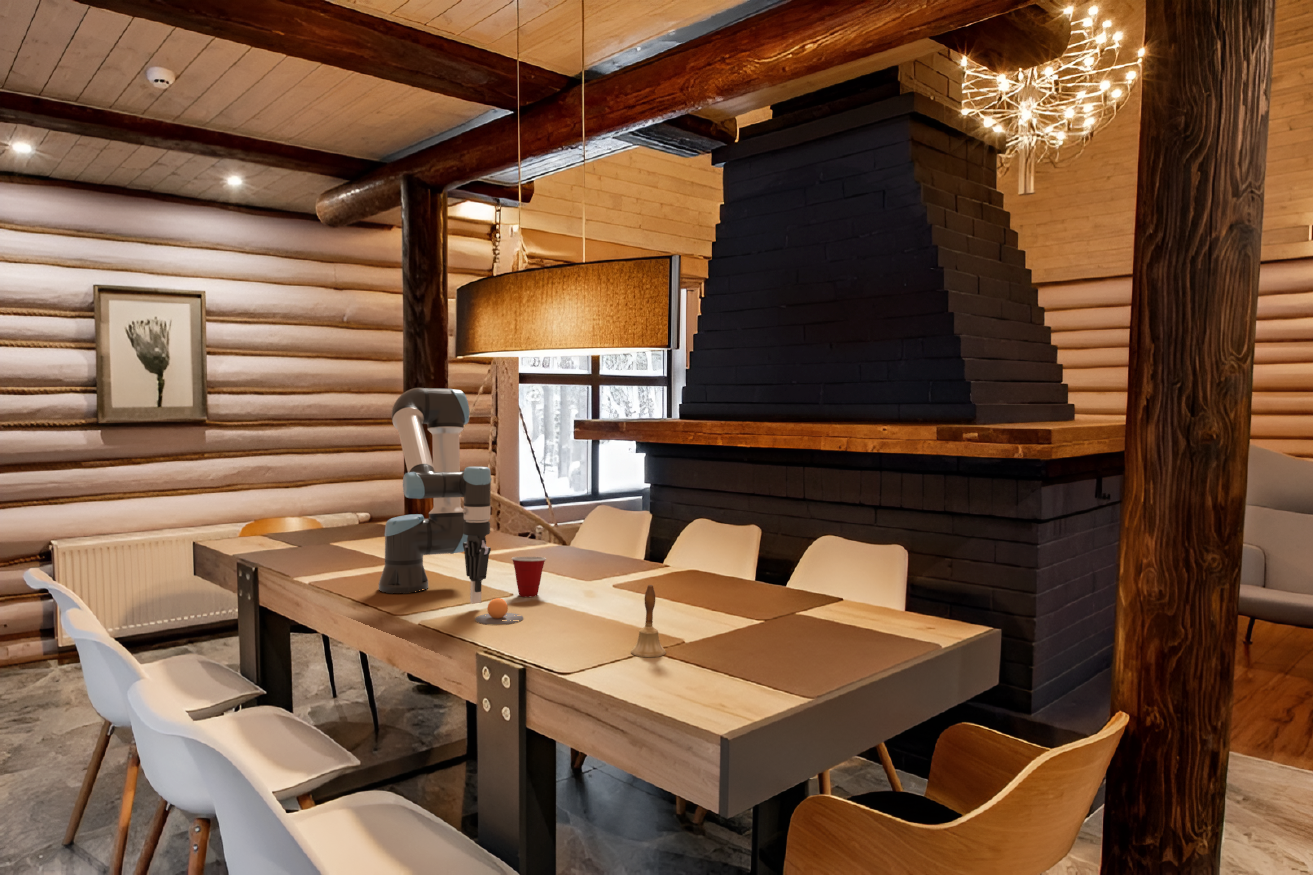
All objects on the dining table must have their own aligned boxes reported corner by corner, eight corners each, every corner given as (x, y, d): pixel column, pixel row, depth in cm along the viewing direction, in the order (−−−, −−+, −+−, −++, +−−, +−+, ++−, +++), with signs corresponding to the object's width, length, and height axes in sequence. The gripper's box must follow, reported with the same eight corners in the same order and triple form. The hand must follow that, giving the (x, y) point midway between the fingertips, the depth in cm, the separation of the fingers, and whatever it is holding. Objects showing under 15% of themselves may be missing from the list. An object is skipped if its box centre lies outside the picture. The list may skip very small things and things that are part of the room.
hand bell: (646, 645, 197) (647, 580, 197) (672, 652, 192) (674, 585, 192) (623, 653, 191) (624, 585, 190) (650, 660, 186) (651, 590, 185)
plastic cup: (549, 592, 257) (550, 554, 257) (541, 599, 246) (541, 560, 246) (516, 590, 258) (516, 553, 258) (506, 598, 247) (507, 559, 247)
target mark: (466, 617, 222) (466, 616, 222) (508, 611, 230) (508, 610, 230) (488, 627, 212) (488, 626, 212) (532, 620, 220) (532, 619, 220)
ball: (486, 622, 221) (482, 603, 223) (504, 620, 224) (500, 601, 226) (495, 616, 217) (490, 596, 219) (513, 613, 220) (508, 594, 223)
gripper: (454, 519, 234) (453, 600, 235) (475, 524, 224) (474, 608, 224) (478, 517, 239) (477, 597, 239) (499, 522, 229) (498, 605, 229)
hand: (475, 602), depth 232 cm, fingers closed
